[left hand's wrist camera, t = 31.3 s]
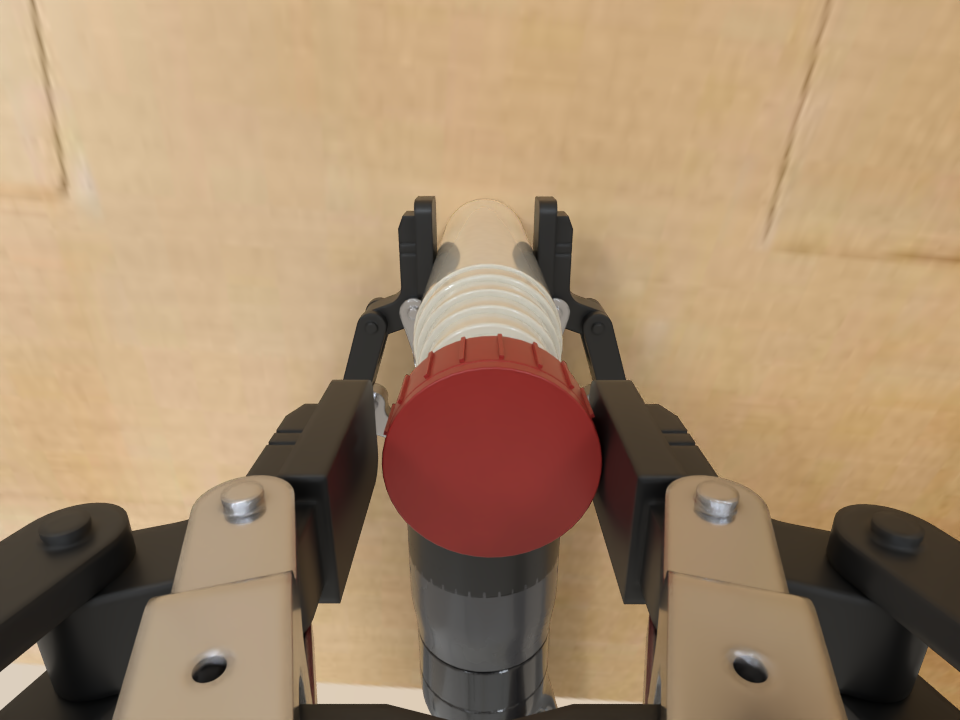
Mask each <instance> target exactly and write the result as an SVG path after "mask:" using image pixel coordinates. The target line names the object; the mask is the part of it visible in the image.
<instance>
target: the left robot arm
mask: <svg viewBox="0 0 960 720" xmlns="http://www.w3.org/2000/svg"><path fill="white" fill-rule="evenodd" d="M589 403H590V405H591V408H592V410H593V413H594V416H595V417H594V418H592V420H593V423H594V425H595V428H596V431H597V433H598V437H599V441H600V444H601V451H602V472H601V477H600V482H599V486H598V488H597V491H596V494H595V496H594V498H593V503H594V506H595V509H596V513H597V516H598V519H599V523H600V526H601V529H602V533H603V536H604V539H605V543H606V546H607V549H608V553H609V556H610V559H611V563H612V566H613V569H614V573H615V576H616V579H617V583H618V586H619V589H620V593H621V596H622V599H623V603H624V604H646V605H647V608H648V611H649V621H648V628H647V636H646V651H645V670H644V688H643V704H572V705H568V706H564V707H560V708H556V709H552V710H548V711H544V712H540V713H536V714H532V715H528V716H524V717H520V718H516V719H512V720H960V710H958V709H957V708H956V707H955V706H954V705H953V704H951V703H950V702H949V701H948V700H947V699H946V698H945V697H943V696H942V695H941V694H940V693H939V692H938V691H937V690H935V689H934V688H933V687H932V686H931V685H930V684H928V683H927V682H926V681H925V680H924V679H923V678H922V677H920V676H919V675H918V673H919V670H920V667H921V665H922V662H923V659H924V656H925V654H926V651H927V648H928V646H929V647H930V648H931V649H932V650H933V651H935V652H936V653H937V654H938V655H940V656H941V657H942V658H943V659H945V660H946V661H947V662H948V663H949V664H951V665H952V666H953V667H954V668H956V669H957V670H958V671H959V672H960V542H959V541H958V540H956V539H955V538H953V537H951V536H950V535H948V534H946V533H945V532H943V531H942V530H940V529H938V528H937V527H935V526H933V525H932V524H930V523H928V522H926V521H925V520H922V519H920V518H918V517H916V516H914V515H911V514H908V513H906V512H903V511H900V510H896V509H893V508H889V507H884V506H878V505H868V504H857V505H850V506H847V507H844V508H842V509H840V510H839V511H838V512H837V513H836V515H835V518H834V522H833V525H832V529H831V531H825V530H820V529H815V528H810V527H805V526H799V525H794V524H789V523H785V522H781V521H777V520H774V519H771V517H770V513H769V510H768V507H767V505H766V503H765V502H764V501H763V499H762V498H761V497H760V496H759V495H757V494H756V493H755V492H753V491H752V490H750V489H749V488H747V487H745V486H743V485H741V484H739V483H736V482H733V481H731V480H727V479H724V478H719V477H718V476H717V474H716V473H715V471H714V470H713V468H712V467H711V465H710V464H709V462H708V461H707V459H706V458H705V456H704V455H703V453H702V452H701V450H700V449H699V448H698V446H695V442H694V440H693V439H692V437H691V436H690V434H687V430H686V428H685V427H684V425H683V424H682V422H681V421H680V419H679V418H678V416H676V415H674V414H673V413H671V412H670V411H668V410H667V409H665V408H664V407H662V406H660V405H659V404H645V403H644V401H643V399H642V398H641V396H640V394H639V393H638V391H637V389H636V388H635V386H634V384H633V383H632V381H631V380H593V381H592V383H591V387H590V393H589ZM377 468H378V447H377V433H376V419H375V405H374V392H373V386H372V382H371V380H332V381H331V383H330V384H329V386H328V388H327V390H326V391H325V393H324V395H323V397H322V398H321V400H320V402H319V403H318V404H304V405H302V406H301V407H299V408H298V409H296V410H295V411H293V412H291V413H290V414H288V415H287V416H286V417H285V418H284V420H283V421H282V423H281V424H280V426H279V427H278V429H277V433H274V435H273V436H272V438H271V439H270V441H269V445H266V447H265V448H264V450H263V451H262V453H261V454H260V456H259V457H258V459H257V460H256V462H255V463H254V465H253V466H252V468H251V469H250V471H249V472H248V474H247V475H246V477H241V478H236V479H233V480H229V481H227V482H224V483H221V484H219V485H217V486H215V487H213V488H211V489H210V490H208V491H207V492H205V493H204V494H203V495H201V496H200V497H199V498H198V499H197V501H196V502H195V503H194V505H193V507H192V510H191V513H190V517H189V519H188V520H185V521H181V522H177V523H172V524H167V525H161V526H156V527H151V528H146V529H141V530H135V531H132V530H131V526H130V523H129V519H128V515H127V513H126V511H125V510H124V509H123V508H121V507H119V506H117V505H114V504H109V503H87V504H81V505H76V506H72V507H67V508H64V509H61V510H58V511H55V512H53V513H50V514H47V515H45V516H43V517H41V518H39V519H37V520H35V521H33V522H32V523H30V524H28V525H26V526H25V527H23V528H22V529H20V530H18V531H17V532H15V533H14V534H12V535H10V536H9V537H7V538H5V539H4V540H2V541H1V542H0V672H1V671H2V670H3V669H4V668H6V667H7V666H8V665H9V664H11V663H12V662H13V661H14V660H15V659H17V658H18V657H19V656H20V655H22V654H23V653H24V652H25V651H27V650H28V649H29V648H30V647H32V646H33V645H34V644H35V643H36V642H37V644H38V647H39V650H40V653H41V655H42V658H43V661H44V664H45V666H46V669H47V670H46V671H45V672H44V673H43V674H42V675H41V676H40V677H38V678H37V679H36V680H35V681H34V682H33V683H32V684H30V685H29V686H28V687H27V688H26V689H25V690H24V691H22V692H21V693H20V694H19V695H18V696H17V697H15V698H14V699H13V700H12V701H11V702H10V703H9V704H7V705H6V706H5V707H4V708H3V709H2V710H0V720H448V719H444V718H440V717H436V716H432V715H428V714H424V713H420V712H416V711H412V710H408V709H404V708H400V707H396V706H392V705H388V704H317V689H316V670H315V651H314V636H313V628H312V620H313V618H314V615H315V612H316V609H317V606H318V603H340V602H341V599H342V595H343V592H344V588H345V585H346V582H347V578H348V575H349V571H350V568H351V564H352V561H353V558H354V554H355V551H356V547H357V544H358V540H359V537H360V534H361V530H362V527H363V523H364V520H365V516H366V513H367V510H368V506H369V503H370V499H371V496H372V492H373V489H374V486H375V482H376V477H377Z"/></svg>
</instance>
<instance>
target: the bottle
mask: <svg viewBox="0 0 960 720" xmlns="http://www.w3.org/2000/svg"><path fill="white" fill-rule="evenodd" d="M498 334H502V337H510V338H515V339H519V340H523V341H526V342H528V343H531V344H532V343H533V342H536V343H537V344H538V347H540V348H542V349H544V350H545V351H547V352H548V353H550V354H551V355H553V356H554V357H556V358H557V359H558V360H559V361H560V362H561V356H562V348H563V339H562V330H561V321H560V317H559V313H558V311H557V308H556V306H555V303H554V301H553V298H552V296H551V293H550V291H549V289H548V286H547V284H546V281H545V279H544V277H543V274H542V272H541V269H540V267H539V264H538V262H537V260H536V257H535V255H534V252H533V250H532V247H531V245H530V243H529V240H528V238H527V235H526V233H525V231H524V228H523V226H522V223H521V221H520V219H519V218H518V216H517V215H516V214H515V212H514V211H513V210H512V209H510V208H509V207H508V206H506V205H505V204H503V203H501V202H498V201H495V200H490V199H479V200H474V201H471V202H468V203H466V204H464V205H463V206H461V207H460V208H459V209H457V210H456V211H455V212H454V214H453V215H452V216H451V218H450V219H449V221H448V223H447V226H446V228H445V231H444V234H443V237H442V240H441V243H440V246H439V249H438V252H437V255H436V258H435V261H434V264H433V267H432V270H431V273H430V276H429V279H428V282H427V285H426V288H425V291H424V294H423V297H422V300H421V303H420V306H419V309H418V312H417V315H416V319H415V324H414V340H413V348H414V356H415V361H416V367H417V366H418V365H419V364H420V363H421V362H422V361H423V360H425V359H426V358H427V357H428V353H429V352H431V351H433V353H434V352H436V351H437V350H439V349H441V348H442V347H445V346H447V345H449V344H452V343H454V342H457V341H460V340H461V337H466V339H467V338H473V337H480V336H497V335H498Z"/></svg>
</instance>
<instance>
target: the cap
mask: <svg viewBox="0 0 960 720" xmlns="http://www.w3.org/2000/svg"><path fill="white" fill-rule="evenodd" d="M594 417H595V416H594V413H593V410H592V408H591V405H590V403H589V400H588V398H587V395H586V392H585V390H584V388H583V387H582V388H580V387H579V385H578V383H577V382H576V380H575V378H574V377H573V375H572V374H571V373H570V372H569V370H568V367H567V364H566V363H565V362H564V361H562V362H560V361H559V360H558V359H557V358H556V357H554V356H553V355H551V354H550V353H548V352H547V351H545V350H544V349H542V348H540V347H538V344H537V343H536V342H533V343H532V344H531V343H528V342H526V341H523V340H519V339H515V338H510V337H502V334H498V335H497V336H480V337H473V338H467V339H466V337H461V340H460V341H457V342H454V343H452V344H449V345H447V346H445V347H442V348H441V349H439V350H437V351H436V352H434V353H433V351H431V352H429V353H428V357H427V358H426V359H425V360H423V361H422V362H421V363H420V364H419V365H418V366H417V367H416V368H415V369H414V370H413V372H412V373H411V374H410V376H409V375H407V374H406V376H405V377H404V381H403V384H402V387H401V391H400V393H399V396H398V399H397V402H396V404H392V408H391V411H390V414H389V417H388V420H387V423H386V427H385V430H384V434H383V435H386V438H385V442H384V447H383V452H382V470H383V478H384V482H385V486H386V490H387V492H388V494H389V497H390V499H391V501H392V503H393V505H394V506H395V508H396V510H397V511H398V513H399V514H400V515H401V516H402V518H403V519H404V520H405V521H406V522H407V523H408V524H409V525H410V526H411V527H412V528H413V529H414V530H415V531H416V532H418V533H419V534H420V535H422V536H423V537H424V538H426V539H427V540H429V541H431V542H433V543H434V544H436V545H438V546H440V547H443V548H445V549H447V550H450V551H453V552H457V553H460V554H465V555H470V556H476V557H506V556H514V555H518V554H522V553H526V552H530V551H532V550H535V549H538V548H540V547H543V546H545V545H547V544H549V543H551V542H552V541H554V540H556V539H557V538H559V537H560V536H562V535H563V534H564V533H566V532H567V531H568V530H569V529H570V528H572V527H573V526H574V525H575V524H576V523H577V522H578V520H579V519H580V518H581V517H582V516H583V514H584V513H585V512H586V510H587V509H588V508H589V506H590V504H591V502H592V500H593V498H594V496H595V494H596V491H597V488H598V486H599V482H600V477H601V472H602V451H601V444H600V441H599V437H598V433H597V431H596V428H595V425H594V423H593V420H592V418H594Z"/></svg>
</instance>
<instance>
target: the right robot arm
mask: <svg viewBox="0 0 960 720" xmlns="http://www.w3.org/2000/svg"><path fill="white" fill-rule="evenodd" d="M398 234H399V252H400V273H401V291H399V292H398V293H397V294H395V295H392V296H389V297H387V298H375V299H373V300H372V301H371V302H370V303H369V304H368V306H367V308H366V311H365V313H364V314H363V315H362V316H361V317H360V319H359V321H358V323H357V327H356V331H355V335H354V339H353V343H352V347H351V351H350V355H349V359H348V363H347V367H346V371H345V375H344V379H343V380H371V382H372V386H373V392H374V405H375V419H376V433H377V435H379V436H383V437H386V435H383V434H384V430H385V427H386V423H387V420H388V417H389V414H390V411H391V408H390V407H389V404H388V392H387V390H386V389H385V388H384V387H383V386H381V385H379V384H376V383H375V381H376V377H377V374H378V370H379V366H380V363H381V359H382V355H383V352H384V348H385V344H386V341H387V337H388V334H390V333H393V332H396V331H398V330H401V329H405V332H406V335H407V337H408V340H409V343H410V346H411V349H412V351H413V356H414V348H413V340H414V324H415V319H416V315H417V312H418V309H419V306H420V303H421V300H422V297H423V294H424V291H425V288H426V285H427V282H428V279H429V276H430V273H431V270H432V267H433V264H434V261H435V258H436V255H437V228H436V200H435V196H418V197H417V198H416V199H415V202H414V211H406V213H405V214H404V215H403V216H402V219H401V222H400V225H399V228H398ZM572 236H573V228H572V225H571V222H570V219H569V216H568V215H567V214H566V213H565V212H564V211H557V201H556V199H555V198H554V197H536V198H535V211H534V241H533V252H534V255H535V257H536V260H537V262H538V264H539V267H540V269H541V272H542V274H543V277H544V279H545V281H546V284H547V286H548V289H549V291H550V293H551V296H552V298H553V301H554V303H555V306H556V308H557V311H558V313H559V317H560V321H561V330H562V335H563V333H564V330H565V329H568V330H571V331H574V332H577V333H580V335H581V339H582V342H583V346H584V350H585V354H586V357H587V361H588V365H589V368H590V372H591V376H592V380H626V378H625V374H624V370H623V366H622V362H621V358H620V354H619V350H618V346H617V341H616V337H615V333H614V329H613V325H612V322H611V320H610V319H609V317H608V316H607V314H606V313H605V311H604V310H603V308H602V307H601V305H600V304H599V302H598V301H596V300H595V299H592V298H587V299H585V298H583V297H580V296H577V295H575V294H573V293H571V292H570V271H571V253H572ZM414 363H415V367H416V361H415V356H414ZM590 387H591V384H589V385H587V386H585V387H584V390H585V392H586V395H587V398H588V400H589V393H590ZM407 524H408V523H407ZM559 541H560V537H559V538H557V539H556V540H554V541H552V542H551V543H549V544H547V545H545V546H543V547H540V548H538V549H535V550H532V551H530V552H526V553H522V554H518V555H514V556H506V557H476V556H470V555H465V554H460V553H457V552H453V551H450V550H447V549H445V548H443V547H440V546H438V545H436V544H434V543H433V542H431V541H429V540H427V539H426V538H424V537H423V536H422V535H420V534H419V533H418V532H416V531H415V530H414V529H413V528H412V527H411V526H410V525H409V524H408V542H409V560H410V577H411V591H412V598H413V603H414V608H415V612H416V616H417V621H418V631H419V651H420V674H421V682H422V689H423V694H424V698H425V702H426V704H427V706H428V709H429V711H430V713H431V715H432V716H436V717H440V718H444V719H448V720H512V719H516V718H520V717H524V716H528V715H532V714H536V713H540V712H544V711H548V710H552V709H556V708H557V704H556V701H555V697H554V693H553V689H552V686H551V683H550V680H549V678H548V675H547V664H548V646H549V627H550V619H551V615H552V611H553V607H554V602H555V597H556V589H557V575H558V559H559Z"/></svg>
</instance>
